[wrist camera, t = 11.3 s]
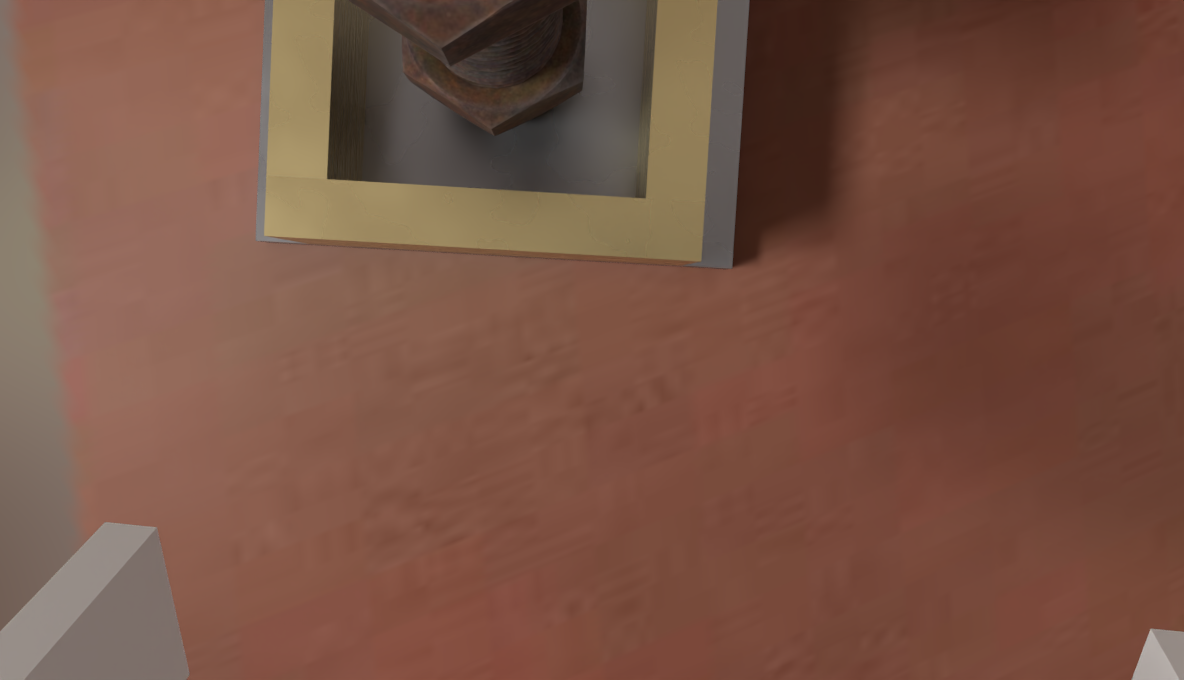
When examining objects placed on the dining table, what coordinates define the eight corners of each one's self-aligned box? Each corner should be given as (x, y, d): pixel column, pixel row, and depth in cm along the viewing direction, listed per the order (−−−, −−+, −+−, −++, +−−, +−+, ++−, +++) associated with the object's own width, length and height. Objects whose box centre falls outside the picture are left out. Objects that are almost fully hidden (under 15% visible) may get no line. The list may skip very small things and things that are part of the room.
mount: (750, -97, 28) (789, -179, 24) (726, 269, 29) (759, 264, 24) (280, -130, 28) (219, -221, 23) (266, 242, 29) (203, 232, 24)
